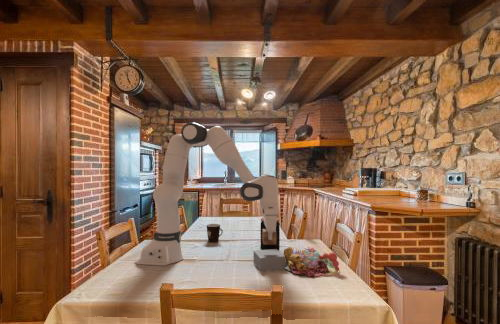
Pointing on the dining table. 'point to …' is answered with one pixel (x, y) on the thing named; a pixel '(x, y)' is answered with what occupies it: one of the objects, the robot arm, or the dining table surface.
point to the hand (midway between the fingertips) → (269, 237)
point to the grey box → (269, 259)
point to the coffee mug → (213, 232)
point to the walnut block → (265, 238)
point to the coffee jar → (277, 246)
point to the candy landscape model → (311, 262)
